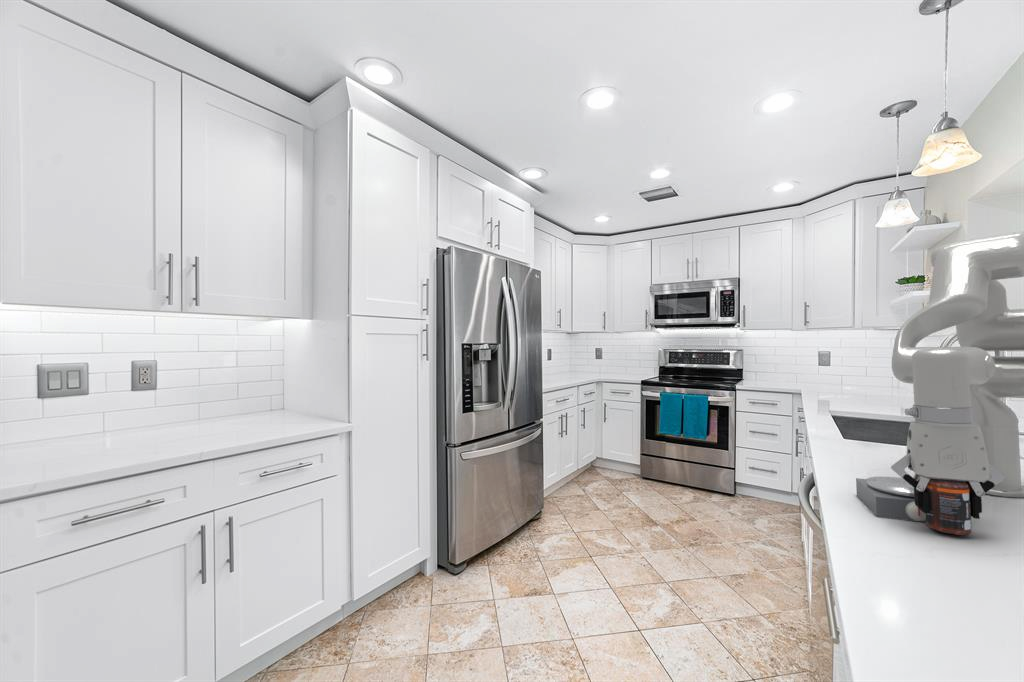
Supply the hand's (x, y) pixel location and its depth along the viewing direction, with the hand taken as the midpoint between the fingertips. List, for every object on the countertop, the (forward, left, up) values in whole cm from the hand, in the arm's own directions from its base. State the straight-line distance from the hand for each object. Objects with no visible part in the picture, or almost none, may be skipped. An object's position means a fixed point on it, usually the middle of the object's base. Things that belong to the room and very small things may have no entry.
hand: (947, 512), depth 79 cm
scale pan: (-12, -3, 0) cm, 12 cm away
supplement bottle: (0, 0, -3) cm, 3 cm away
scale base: (-12, -3, -4) cm, 12 cm away
